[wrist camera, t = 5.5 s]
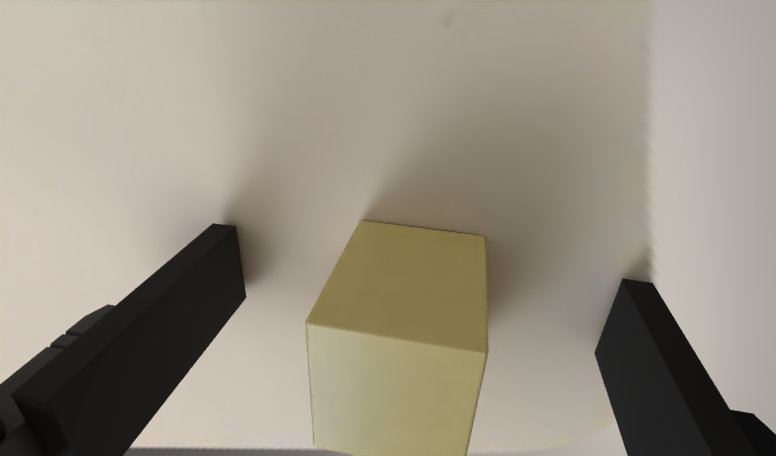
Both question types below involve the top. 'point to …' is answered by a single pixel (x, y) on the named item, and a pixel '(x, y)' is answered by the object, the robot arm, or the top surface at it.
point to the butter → (399, 343)
